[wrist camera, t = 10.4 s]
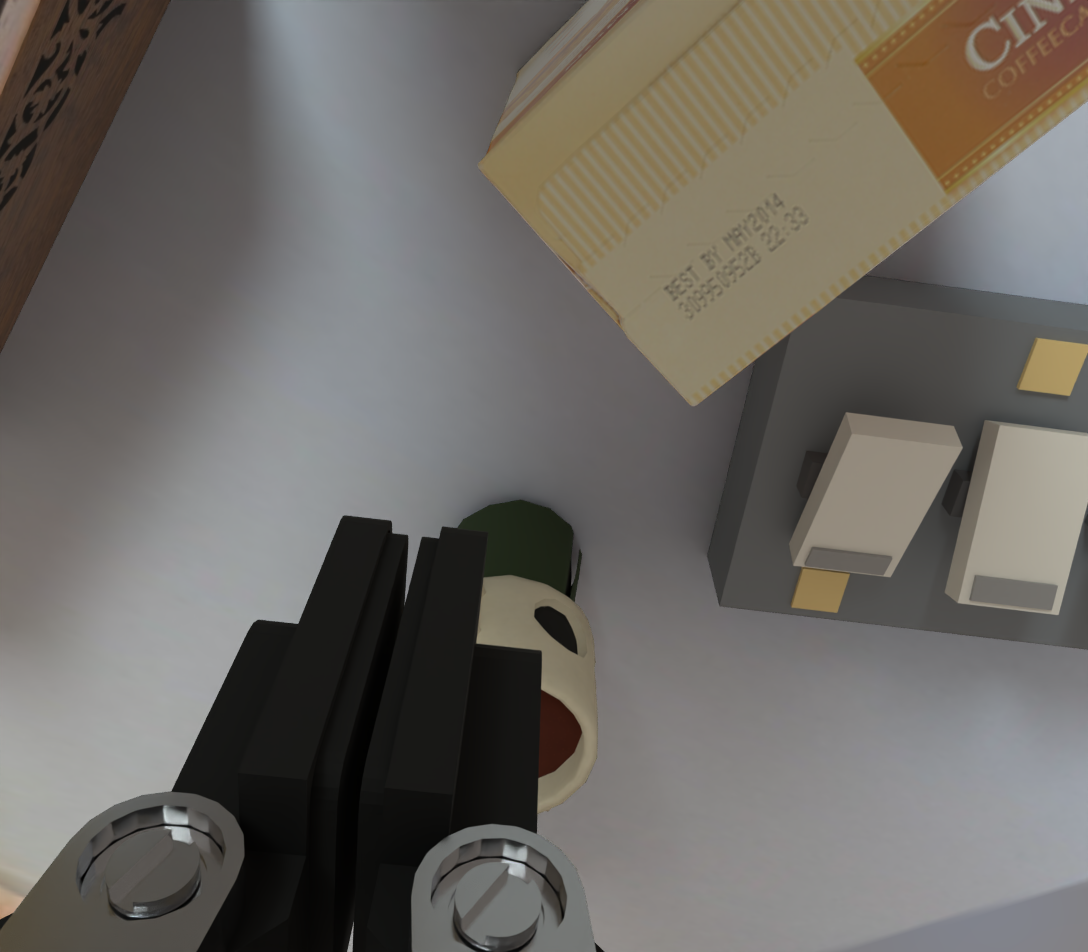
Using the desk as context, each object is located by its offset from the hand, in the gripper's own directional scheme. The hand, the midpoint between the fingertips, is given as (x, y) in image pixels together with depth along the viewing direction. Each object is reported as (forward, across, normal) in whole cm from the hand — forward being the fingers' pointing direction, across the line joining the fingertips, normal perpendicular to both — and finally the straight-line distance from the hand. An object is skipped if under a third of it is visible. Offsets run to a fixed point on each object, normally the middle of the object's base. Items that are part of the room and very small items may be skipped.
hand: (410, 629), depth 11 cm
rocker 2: (+23, -21, +9) cm, 32 cm away
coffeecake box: (+29, -7, -7) cm, 31 cm away
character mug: (+29, -2, +17) cm, 34 cm away
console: (+29, -21, +9) cm, 37 cm away
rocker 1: (+23, -15, +9) cm, 29 cm away
